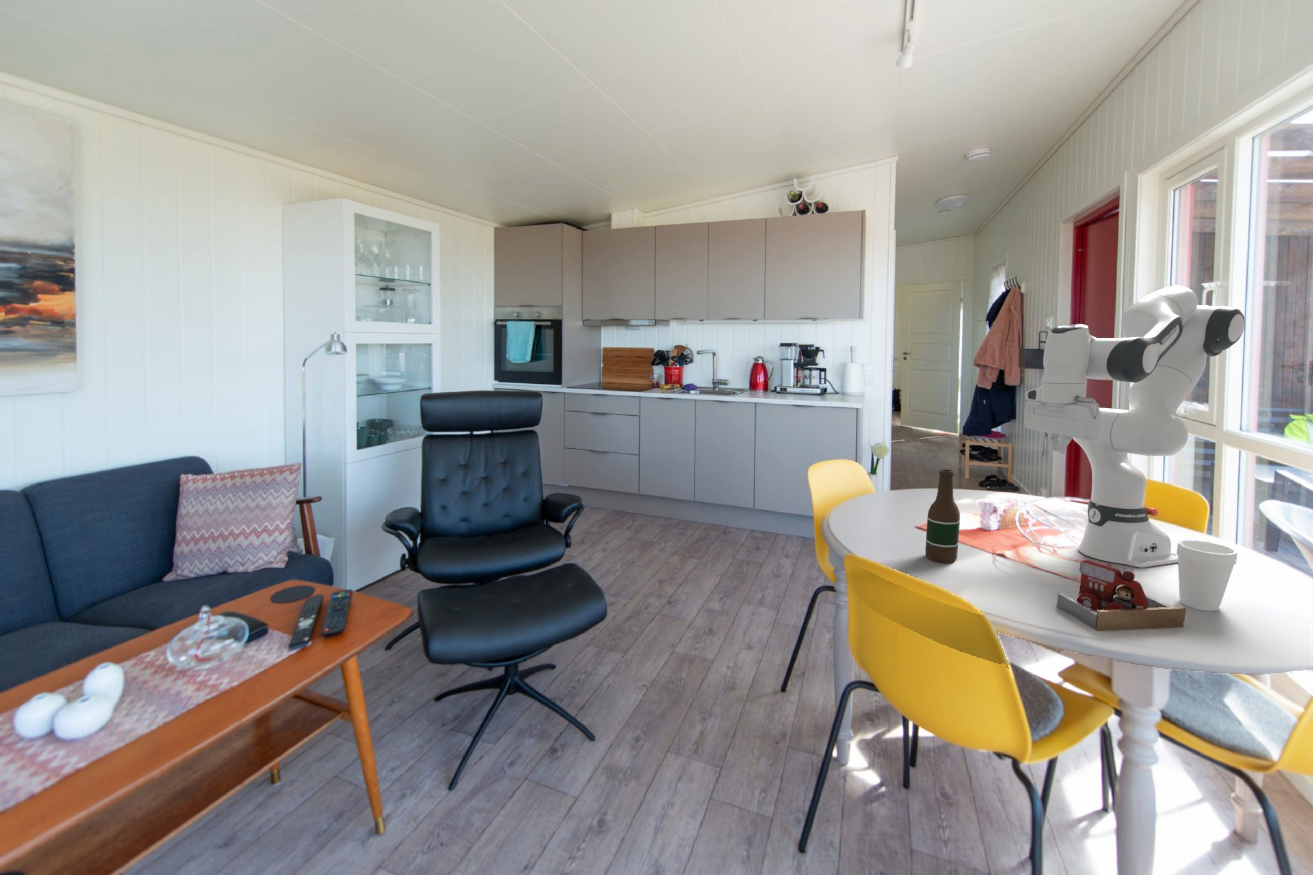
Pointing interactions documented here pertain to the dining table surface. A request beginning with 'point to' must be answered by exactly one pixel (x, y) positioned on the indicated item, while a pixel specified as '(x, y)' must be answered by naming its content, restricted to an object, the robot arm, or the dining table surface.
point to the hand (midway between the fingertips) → (1058, 452)
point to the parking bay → (1125, 615)
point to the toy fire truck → (1109, 588)
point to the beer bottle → (943, 522)
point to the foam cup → (1204, 573)
